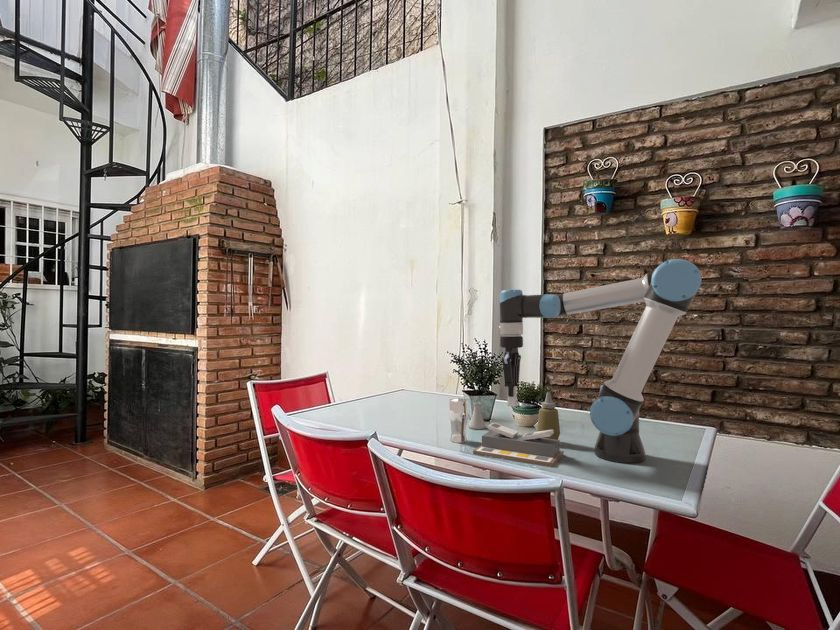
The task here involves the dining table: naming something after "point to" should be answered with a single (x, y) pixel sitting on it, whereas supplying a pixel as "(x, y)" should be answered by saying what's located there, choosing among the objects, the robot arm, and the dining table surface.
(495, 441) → the switch box
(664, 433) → the dining table surface
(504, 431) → the far switch
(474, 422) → the flask
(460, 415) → the beer glass
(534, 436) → the near switch
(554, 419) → the squeeze bottle
